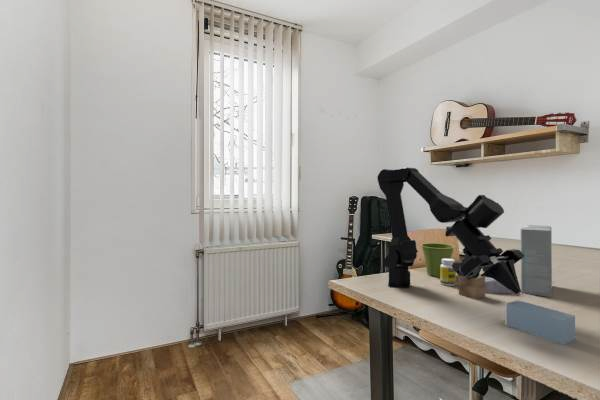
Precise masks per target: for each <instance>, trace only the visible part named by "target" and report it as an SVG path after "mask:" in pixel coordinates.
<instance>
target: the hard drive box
mask: <svg viewBox="0 0 600 400" xmlns="http://www.w3.org/2000/svg"><path fill="white" fill-rule="evenodd" d="M519 235H520V251H521V252H522V253H523V254H524V255H525V256H524V257H523V258H522V259H520V289H521V292H520V293H522V294H525V295H526V294H527V295H535V296H541V297H542V296H543V297H547V298H551V297H552V291H553V290H552V288H553V287H552V286H553V264H552V263H553V262H552V261H553V259H552V258H553V253H552V251H553V249H552V248H553V247H552V246H553V245H552V240H553V239H552V237H553V236H552V226H551V225H534V224H524V225H522V227H521V228H520V233H519Z"/></svg>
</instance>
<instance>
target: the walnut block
mask: <svg viewBox="0 0 600 400" xmlns="http://www.w3.org/2000/svg"><path fill="white" fill-rule="evenodd" d="M458 295H459V296H462V297H466V298H469V299H472V300H476V299H477V300H478V299H481V298H485V297H486V293H485V277H482V276H480V275H479V276H478V277H477V278H475V279H474V278H472V279H470V280H468V279H466V278H465V277H463V276H458Z"/></svg>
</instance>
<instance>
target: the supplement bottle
mask: <svg viewBox="0 0 600 400" xmlns="http://www.w3.org/2000/svg"><path fill="white" fill-rule="evenodd" d="M453 262H456V260H455V259H453V258H451V259H447V258H444V259H442V264H441V266H440V277H439V282H440V284H441V285H442V286H443V285H444V286H447V287H448V286H449V287H451V286H456V282H457V281H456V280H457V279H456V278H457V273H456V272H455V271H454V269H453V267H452V265H453Z"/></svg>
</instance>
